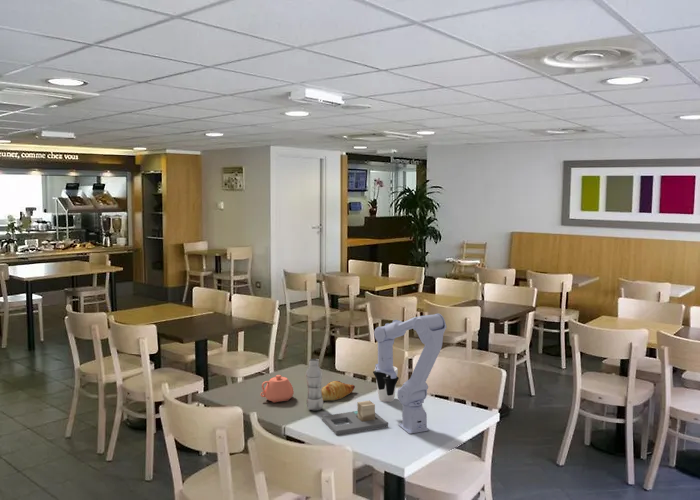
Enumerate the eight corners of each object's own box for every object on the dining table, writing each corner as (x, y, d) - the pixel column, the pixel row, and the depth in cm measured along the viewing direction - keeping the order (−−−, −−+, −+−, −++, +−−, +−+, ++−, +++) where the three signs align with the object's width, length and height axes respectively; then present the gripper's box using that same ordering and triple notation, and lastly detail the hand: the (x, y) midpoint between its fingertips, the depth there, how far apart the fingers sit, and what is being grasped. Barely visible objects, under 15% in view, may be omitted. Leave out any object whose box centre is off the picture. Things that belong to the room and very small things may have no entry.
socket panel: (387, 426, 221) (387, 422, 221) (336, 435, 214) (336, 430, 214) (370, 412, 236) (370, 408, 236) (322, 419, 229) (321, 415, 229)
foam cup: (398, 395, 256) (397, 365, 254) (397, 403, 246) (397, 371, 245) (375, 395, 256) (375, 365, 255) (374, 402, 247) (373, 371, 246)
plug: (375, 422, 225) (374, 404, 225) (362, 424, 224) (362, 406, 223) (369, 418, 230) (369, 400, 229) (357, 420, 228) (357, 402, 228)
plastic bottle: (321, 412, 237) (320, 362, 235) (304, 411, 238) (303, 361, 236) (325, 407, 243) (324, 358, 241) (309, 406, 244) (307, 357, 243)
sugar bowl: (297, 401, 250) (296, 377, 250) (264, 406, 245) (263, 381, 244) (289, 393, 262) (288, 369, 261) (257, 397, 257) (256, 373, 256)
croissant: (316, 412, 248) (321, 397, 244) (304, 395, 255) (308, 381, 251) (357, 400, 260) (362, 386, 257) (345, 384, 267) (349, 370, 263)
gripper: (368, 353, 235) (368, 388, 236) (384, 363, 222) (384, 399, 223) (384, 351, 238) (384, 385, 239) (401, 360, 224) (401, 396, 226)
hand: (385, 392), depth 231 cm, fingers open, 7 cm apart
